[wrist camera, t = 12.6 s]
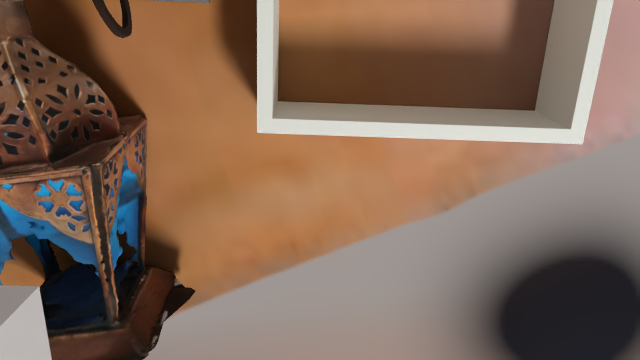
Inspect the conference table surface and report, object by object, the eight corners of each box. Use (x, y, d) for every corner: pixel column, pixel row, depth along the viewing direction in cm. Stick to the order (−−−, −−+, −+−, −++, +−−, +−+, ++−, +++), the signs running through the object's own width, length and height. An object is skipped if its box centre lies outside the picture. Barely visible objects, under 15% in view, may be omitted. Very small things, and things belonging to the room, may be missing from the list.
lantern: (152, 255, 51) (74, -12, 42) (244, 321, 40) (165, -28, 30) (-34, 342, 42) (-191, 22, 32) (15, 462, 30) (-209, 18, 21)
